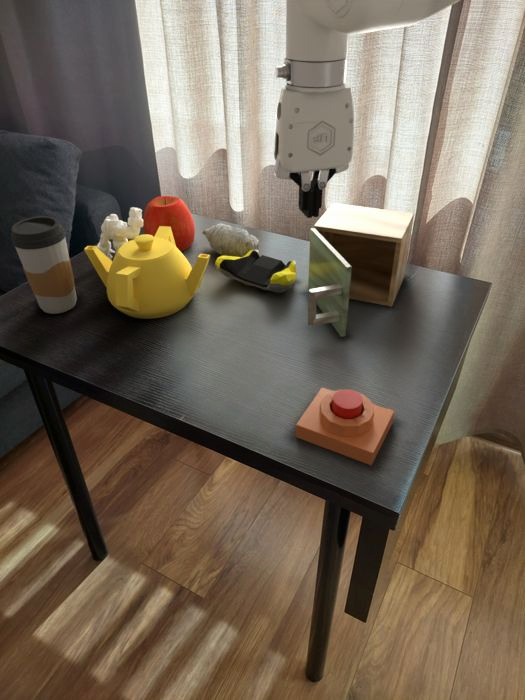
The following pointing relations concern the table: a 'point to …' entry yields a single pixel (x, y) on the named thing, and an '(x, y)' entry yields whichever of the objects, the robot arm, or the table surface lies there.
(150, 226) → the apple
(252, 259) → the black and yellow shoe
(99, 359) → the table surface
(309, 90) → the robot arm
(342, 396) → the button
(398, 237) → the cupboard
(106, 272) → the teapot
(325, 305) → the door
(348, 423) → the button block
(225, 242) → the seashell
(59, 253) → the coffee cup
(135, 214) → the figurine
